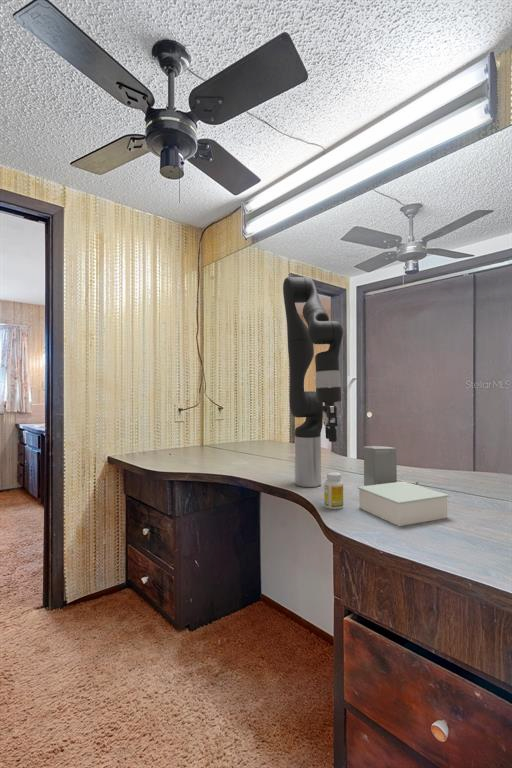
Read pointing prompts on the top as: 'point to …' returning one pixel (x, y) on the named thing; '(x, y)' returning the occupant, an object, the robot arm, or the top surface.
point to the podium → (403, 503)
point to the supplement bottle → (333, 491)
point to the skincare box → (379, 465)
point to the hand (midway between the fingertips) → (331, 440)
